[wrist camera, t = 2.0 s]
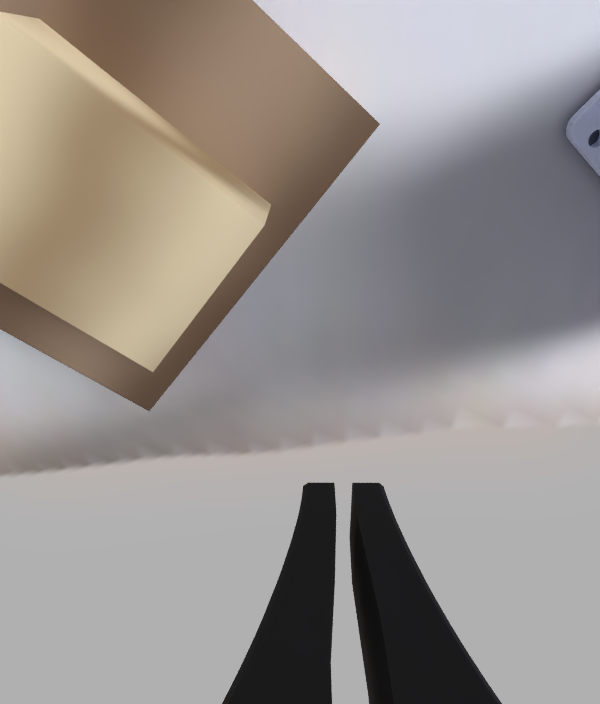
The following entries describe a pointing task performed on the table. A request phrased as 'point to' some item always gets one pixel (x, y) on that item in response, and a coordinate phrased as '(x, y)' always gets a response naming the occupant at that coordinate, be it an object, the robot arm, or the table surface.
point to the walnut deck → (203, 143)
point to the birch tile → (108, 200)
